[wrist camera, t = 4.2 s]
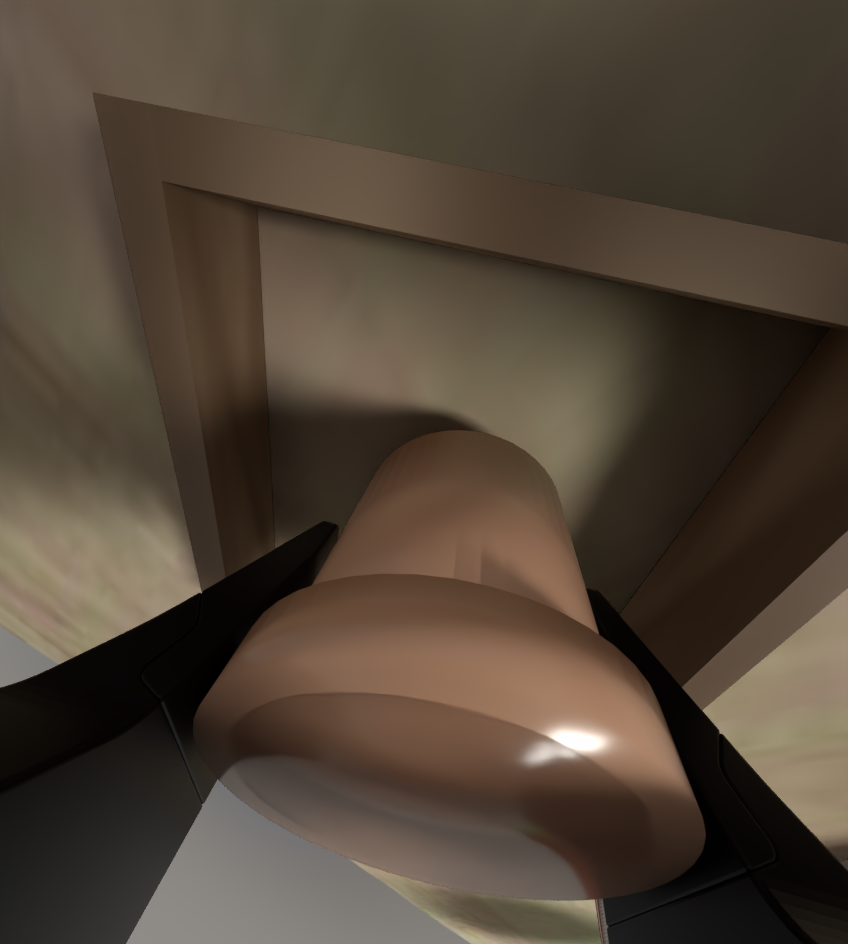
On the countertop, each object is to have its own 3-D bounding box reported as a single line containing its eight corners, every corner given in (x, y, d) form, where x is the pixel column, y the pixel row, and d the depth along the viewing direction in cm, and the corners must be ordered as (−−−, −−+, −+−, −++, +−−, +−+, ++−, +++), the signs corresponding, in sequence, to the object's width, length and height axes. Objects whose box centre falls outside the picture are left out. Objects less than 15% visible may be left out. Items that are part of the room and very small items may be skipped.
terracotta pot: (624, 447, 9) (875, 790, 3) (532, 617, 13) (568, 926, 7) (362, 386, 9) (141, 590, 3) (345, 568, 13) (222, 821, 7)
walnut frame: (913, 289, 8) (1189, 302, 5) (595, 682, 16) (619, 779, 13) (214, 146, 8) (61, 78, 5) (257, 592, 17) (206, 663, 14)
